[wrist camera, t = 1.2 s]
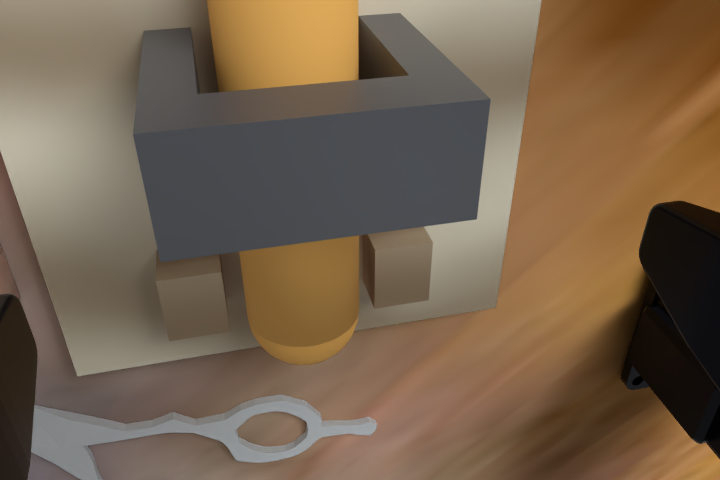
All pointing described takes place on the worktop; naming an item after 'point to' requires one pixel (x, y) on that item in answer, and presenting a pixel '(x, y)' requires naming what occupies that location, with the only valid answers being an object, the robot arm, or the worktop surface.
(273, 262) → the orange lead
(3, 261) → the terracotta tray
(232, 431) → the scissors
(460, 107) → the dark gray horseshoe block
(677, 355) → the robot arm
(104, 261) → the cradle board
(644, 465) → the worktop surface
